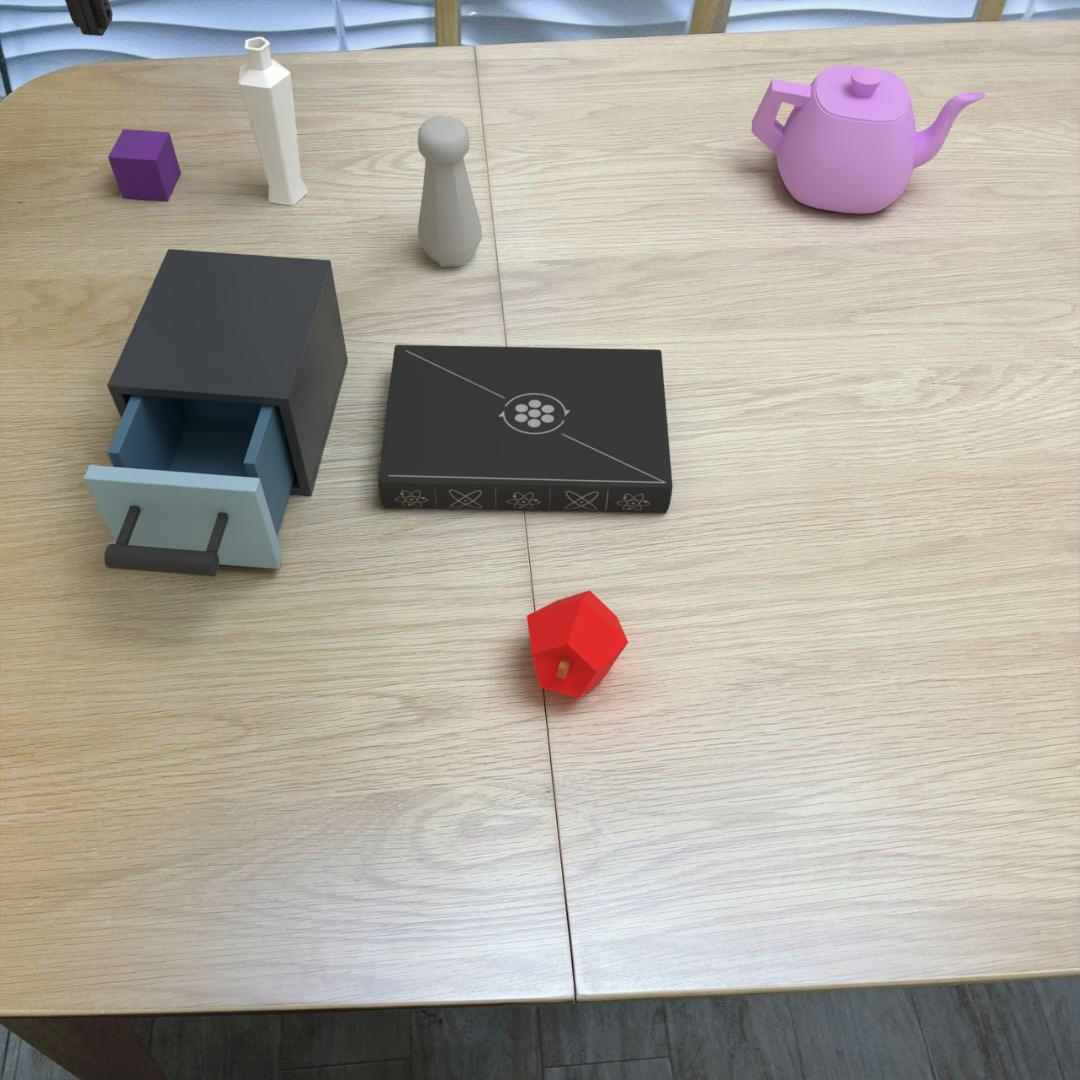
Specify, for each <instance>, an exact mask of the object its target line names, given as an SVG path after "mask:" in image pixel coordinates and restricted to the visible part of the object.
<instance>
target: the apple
mask: <svg viewBox="0 0 1080 1080" xmlns="http://www.w3.org/2000/svg"><path fill="white" fill-rule="evenodd" d="M526 620H527V627H528V633H529V635H528V636H529V643H530V649H531V656H532V660H533V666H534V668H535V669H534V670H535V673H536V677H537V678H536V679H537V682H538V686H539V688H540V689H543V690H546V691H550V692H555V693H558V694H562V695H566V696H569V697H572V698H576V699H581V698H582V697H583V696H584V695H587V693H589V692H591V691H592V690H593V689H595V688H596V687H597V686H599V685H600V684H601V682H602V681H603V680H604V679H605V677H606V676H607V674H608V673H609V671H610V670H611V669H612V667H613V666H614V664H615V662H616V661H617V659H618V658H619V657H620V656H621V654H622V652H623V651H624V649H625V648H626V646H627V645H628V644H629V641H628V638H627V635H626V634H625V631H624V629H623V627H622V624H621V622H620V619H619V618H618V616H617V615H616V614H615V613H614V612H613V611H612V610H611V609H610V608H609V607H608V606H607V605H606V604H605V603H604V602H603V601H602V600H601V599H599V597H598V596H597V595H595V594H594V593H593V591H592V590H590V589H589V590H586V591H582V592H579V593H577V594H573V595H570V596H567V597H564V598H560V599H558V600H557V599H556V600H555V601H553V602H551V603H548V604H546V605H544V606H543V607H540V608H539V609H537V610H535V611H532V612H531V613H529V614H527V615H526Z"/></svg>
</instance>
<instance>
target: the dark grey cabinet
mask: <svg viewBox="0 0 1080 1080" xmlns="http://www.w3.org/2000/svg"><path fill="white" fill-rule="evenodd" d="M336 289H337V288H336V284H335V278H334V272H333V266H332V262H331V260H330V259H319V258H318V259H317V258H305V257H304V258H303V257H291V256H290V257H289V256H274V255H261V254H247V253H243V254H242V253H232V252H231V253H230V252H215V251H202V250H189V249H173V248H168V249H167V250H166V253H165V255H164V257H163V259H162V262H161V264H160V266H159V268H158V271H157V273H156V275H155V278H154V280H153V282H152V284H151V286H150V289H149V291H148V293H147V295H146V298H145V300H144V302H143V304H142V307H141V309H140V311H139V313H138V315H137V318H136V320H135V322H134V324H133V326H132V329H131V331H130V334H129V335H128V338H127V339H126V342H125V344H124V347H123V349H122V351H121V353H120V356H119V358H118V360H117V362H116V364H115V366H114V369H113V372H112V373H111V375H110V377H109V380H108V383H107V385H106V387H107V388H108V390H109V393H110V396H111V397H112V401H113V403H114V405H115V407H116V409H117V412H118V415H119V417H120V419H121V418H122V416H123V414H124V411H125V409H126V407H127V404H128V402H129V400H130V397H131V395H144V396H157V397H171V398H184V399H197V400H211V401H224V402H238V403H251V404H265V405H278V406H279V408H280V412H281V416H282V420H283V424H284V428H285V431H286V435H287V439H288V443H289V447H290V451H291V455H292V459H293V463H294V467H295V471H296V473H295V476H294V480H293V483H292V487H291V490H290V494H289V495H296V496H308V497H312V496H313V493H314V492H313V491H314V489H315V486H316V480H317V478H318V474H319V470H320V466H321V462H322V459H323V455H324V451H325V448H326V444H327V441H328V437H329V432H330V428H331V425H332V422H333V418H334V414H335V412H336V411H335V410H336V407H337V404H338V399H339V395H340V392H341V388H342V385H343V382H344V378H345V374H346V371H347V366H348V362H349V359H348V353H347V348H346V342H345V336H344V330H343V324H342V319H341V313H340V307H339V302H338V296H337V290H336Z"/></svg>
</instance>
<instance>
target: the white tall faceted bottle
mask: <svg viewBox="0 0 1080 1080" xmlns="http://www.w3.org/2000/svg"><path fill="white" fill-rule="evenodd" d="M244 41H245V42H244V49H245V50H246V53H247V57H248V61H249V62H247V63H245V64H242V65H240V67H239V74H238V82H237V83H238V87H239V89H240V93H241V96H242V100H243V103H244V106H245V110H246V113H247V116H248V121H249V123H250V126H251V130H252V133H253V137H254V140H255V144H256V147H257V150H258V153H259V157H260V161H261V163H262V168H263V170H264V173H265V177H266V181H267V184H268V192H267V193H268V196H267V200H268V201H267V202H268V203H271V204H278V205H283V206H284V205H285V206H295V205H296V204H297V203H298V202H299V201H301V200H303V198H304V197H305V196H306V195H307V194H308V193H309V191H308V189H307V187H306V185H305V183H304V181H303V179H302V171H301V162H300V154H299V153H300V151H299V142H298V133H297V124H296V114H295V104H294V95H293V94H294V93H293V84H292V75H291V71H290V70H288V69H287V68H286V67H285V66H283V65H282V64H280V63H279V62H278V61H276V60H275V59H272V56H271V50H270V44H271V43H270V41H269V40H267V39H266V38H264V37H263V36H257V37H252V38H248V39H246V40H244Z"/></svg>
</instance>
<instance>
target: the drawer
mask: <svg viewBox="0 0 1080 1080" xmlns="http://www.w3.org/2000/svg"><path fill="white" fill-rule="evenodd" d="M106 454H107V455H108V457H109V460H110V462H111V464H112V466H110V465H109V466H107V465H93V464H89V465H88V467H87V469H86V472H85V474H84V475H83V481H84V482H85V484H86V486H87V489H88V490H89V492H90V494H91V496H92V498H93V500H94V503H95V504H96V507H97V509H98V510H99V512H100V514H101V516H102V518H103V520H104V522H105V525H106V526H107V528H108V530H109V533H110V535H111V537H112V539H113V540H114V542H115V543H109V544H108V545H107V546H106V548H105V550H104V556H103V557H104V558H103V559H104V565H105V566H106V568H108V569H113V570H115V569H116V570H124V571H125V570H126V571H139V572H152V573H162V574H163V573H165V574H175V575H176V574H177V575H190V576H201V577H212V578H213V577H216V576H217V574H218V571H219V568H220V565H223V566H235V567H237V566H238V567H247V568H248V567H249V568H260V569H261V568H262V569H273V570H279V569H280V568H281V563H282V559H283V557H284V556H283V552H282V548H281V546H280V542H279V539H278V535H279V532H280V528H281V526H282V521H283V518H284V514H285V511H286V507H287V504H288V501H289V498H290V497H289V496H290V495H291V494H290V490H291V487H292V483H293V480H294V476H295V473H296V471H295V467H294V463H293V459H292V455H291V451H290V447H289V443H288V439H287V435H286V431H285V428H284V424H283V420H282V416H281V412H280V408H279V406H278V405H265V404H251V403H238V402H224V401H211V400H197V399H184V398H171V397H157V396H144V395H131V397H130V400H129V402H128V404H127V407H126V409H125V411H124V414H123V416H122V418H121V417H120V421H119V424H118V425H117V428H116V431H115V433H114V435H113V437H112V440H111V442H110V444H109V446H108V449H107V452H106Z"/></svg>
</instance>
